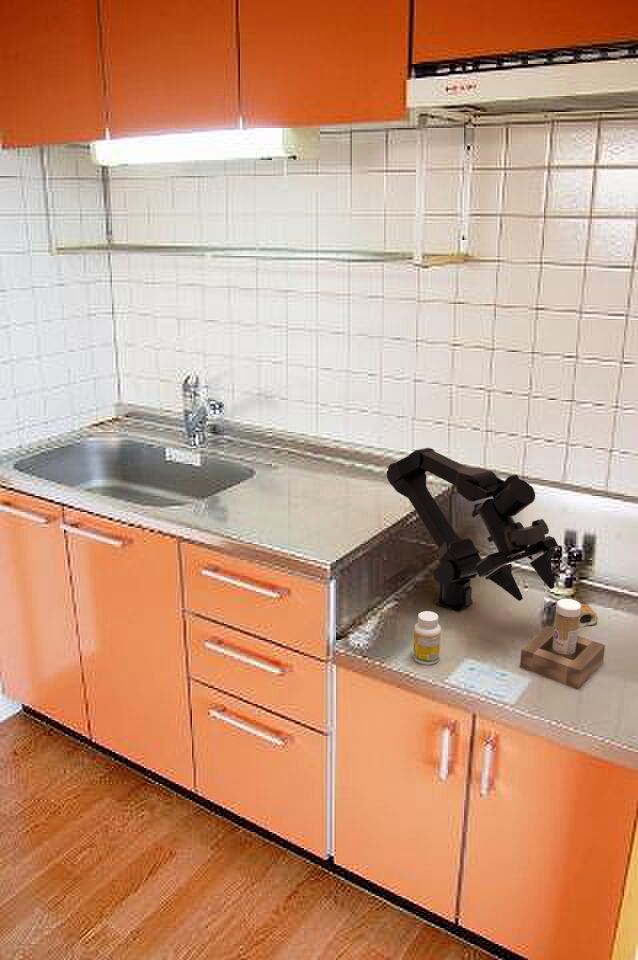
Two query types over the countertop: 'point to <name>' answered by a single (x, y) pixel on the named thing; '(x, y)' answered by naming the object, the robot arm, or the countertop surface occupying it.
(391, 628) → the countertop surface
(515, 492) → the robot arm
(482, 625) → the countertop surface
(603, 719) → the countertop surface
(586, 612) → the pastry
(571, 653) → the sprinkles bottle
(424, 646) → the supplement bottle
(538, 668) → the socket block
